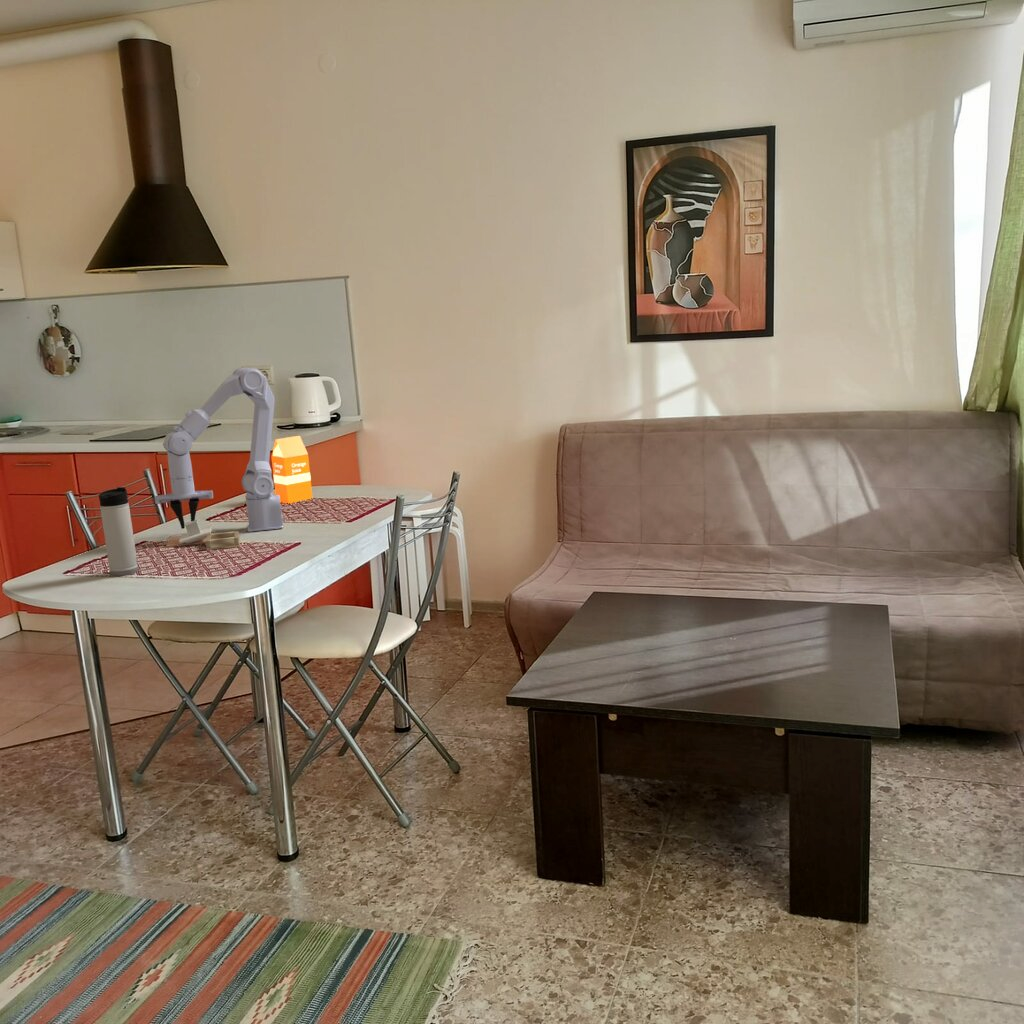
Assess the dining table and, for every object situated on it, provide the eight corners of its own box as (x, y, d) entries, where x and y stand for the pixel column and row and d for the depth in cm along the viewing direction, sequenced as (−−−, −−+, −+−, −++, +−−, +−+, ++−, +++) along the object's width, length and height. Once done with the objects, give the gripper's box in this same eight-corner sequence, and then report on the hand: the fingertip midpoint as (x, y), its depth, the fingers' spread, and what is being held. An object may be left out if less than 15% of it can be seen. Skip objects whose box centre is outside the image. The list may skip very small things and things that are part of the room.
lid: (212, 530, 263) (206, 514, 262) (211, 537, 256) (205, 520, 255) (182, 540, 262) (177, 524, 261) (180, 546, 254) (174, 530, 253)
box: (239, 539, 259) (238, 531, 258) (239, 546, 251) (238, 537, 250) (208, 543, 257) (207, 534, 256) (206, 550, 249) (205, 541, 249)
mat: (212, 533, 268) (212, 532, 268) (210, 542, 257) (210, 541, 257) (170, 538, 265) (170, 536, 265) (166, 547, 255) (166, 546, 255)
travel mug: (145, 569, 234) (133, 487, 230) (126, 576, 228) (113, 492, 223) (123, 568, 236) (111, 486, 232) (104, 575, 230) (91, 492, 226)
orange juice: (276, 501, 310) (269, 438, 306) (300, 496, 316) (293, 434, 311) (288, 503, 304) (281, 440, 300) (313, 498, 310) (306, 436, 306)
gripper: (210, 472, 263) (217, 521, 266) (154, 477, 260) (161, 527, 263) (209, 476, 256) (215, 526, 259) (151, 481, 253) (158, 532, 256)
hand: (188, 527), depth 261 cm, fingers closed
